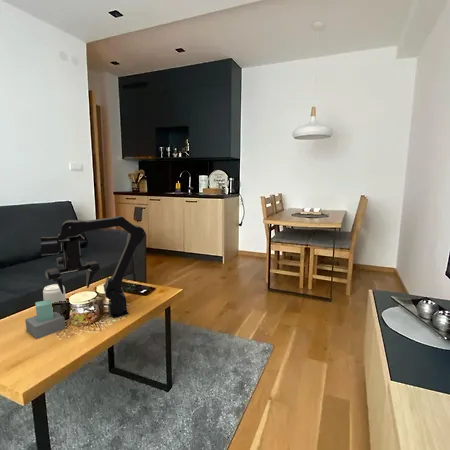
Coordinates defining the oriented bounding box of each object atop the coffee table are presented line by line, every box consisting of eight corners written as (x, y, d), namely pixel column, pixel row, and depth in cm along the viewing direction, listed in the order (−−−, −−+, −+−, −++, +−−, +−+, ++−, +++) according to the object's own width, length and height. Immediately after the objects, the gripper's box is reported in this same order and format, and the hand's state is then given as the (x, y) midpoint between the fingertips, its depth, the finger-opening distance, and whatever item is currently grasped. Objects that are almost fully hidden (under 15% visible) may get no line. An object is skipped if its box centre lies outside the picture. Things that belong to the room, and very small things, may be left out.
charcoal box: (54, 321, 121) (53, 310, 120) (65, 329, 114) (64, 317, 114) (26, 331, 113) (25, 319, 112) (36, 340, 107) (35, 327, 106)
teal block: (51, 313, 116) (50, 299, 116) (53, 318, 113) (52, 303, 112) (36, 317, 114) (35, 302, 113) (38, 322, 110) (36, 306, 109)
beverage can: (70, 309, 131) (68, 283, 129) (58, 318, 123) (56, 290, 121) (53, 309, 132) (51, 283, 130) (40, 317, 124) (37, 290, 122)
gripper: (90, 245, 128) (93, 280, 130) (40, 252, 116) (44, 290, 118) (99, 250, 120) (102, 287, 122) (46, 258, 108) (50, 299, 110)
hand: (75, 290), depth 118 cm, fingers open, 9 cm apart
